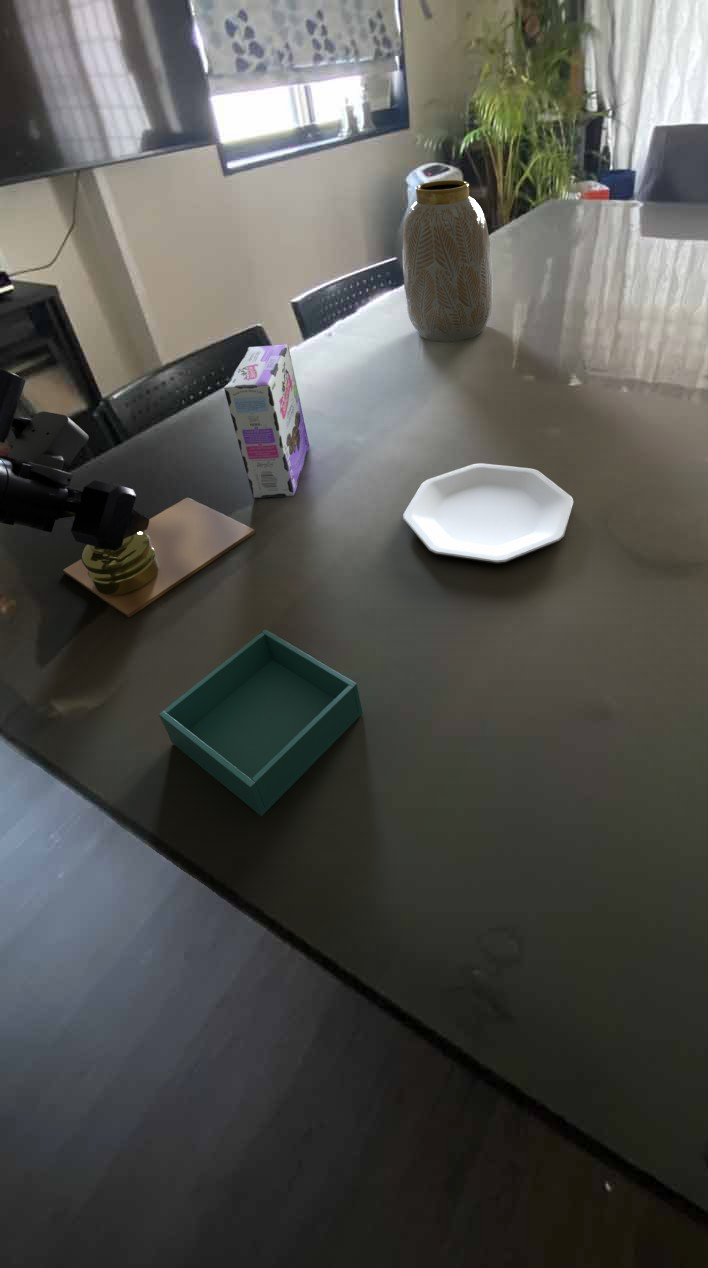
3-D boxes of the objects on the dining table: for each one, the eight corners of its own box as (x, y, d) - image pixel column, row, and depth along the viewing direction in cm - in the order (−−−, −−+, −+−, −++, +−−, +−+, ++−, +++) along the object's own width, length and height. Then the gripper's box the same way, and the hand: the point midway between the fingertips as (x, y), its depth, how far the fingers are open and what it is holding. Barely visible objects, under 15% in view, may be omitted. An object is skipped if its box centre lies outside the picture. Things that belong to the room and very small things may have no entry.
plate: (553, 580, 74) (554, 569, 73) (385, 554, 80) (384, 544, 79) (580, 483, 89) (581, 473, 88) (437, 467, 95) (436, 458, 94)
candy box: (295, 497, 91) (268, 384, 82) (251, 500, 92) (221, 387, 82) (311, 446, 103) (289, 341, 93) (272, 448, 103) (247, 344, 94)
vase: (418, 315, 147) (406, 178, 131) (498, 314, 143) (495, 173, 128) (400, 346, 133) (384, 197, 118) (487, 346, 129) (483, 192, 114)
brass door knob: (134, 548, 84) (105, 480, 78) (173, 567, 80) (146, 496, 74) (81, 584, 79) (46, 514, 73) (120, 605, 75) (87, 533, 70)
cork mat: (128, 618, 74) (127, 614, 74) (64, 573, 82) (62, 569, 81) (255, 532, 85) (254, 529, 85) (188, 500, 93) (187, 497, 93)
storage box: (261, 816, 54) (250, 787, 52) (172, 743, 60) (158, 714, 58) (363, 713, 61) (356, 683, 59) (273, 657, 68) (265, 629, 65)
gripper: (84, 415, 59) (201, 460, 74) (-53, 391, 67) (78, 436, 81) (46, 539, 58) (172, 561, 73) (-89, 501, 65) (50, 527, 80)
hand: (116, 516), depth 76 cm, fingers open, 9 cm apart
